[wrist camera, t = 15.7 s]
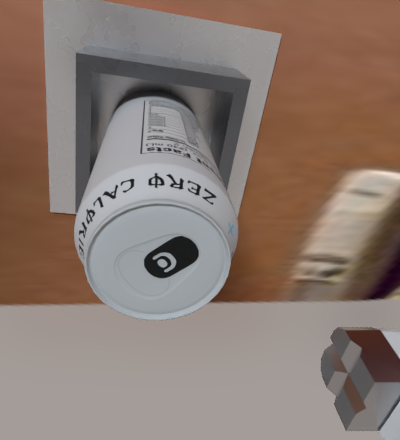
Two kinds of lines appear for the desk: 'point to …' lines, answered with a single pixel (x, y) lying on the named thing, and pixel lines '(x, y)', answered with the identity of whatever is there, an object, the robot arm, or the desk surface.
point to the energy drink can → (155, 213)
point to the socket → (148, 84)
